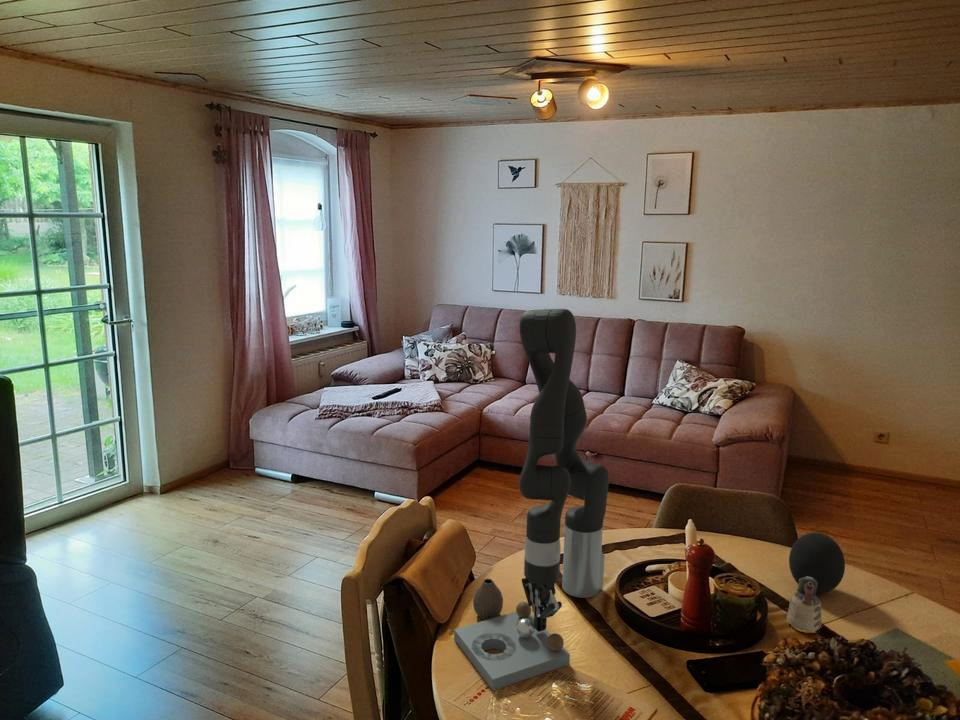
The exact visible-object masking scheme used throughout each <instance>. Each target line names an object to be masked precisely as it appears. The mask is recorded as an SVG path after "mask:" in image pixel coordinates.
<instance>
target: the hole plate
mask: <svg viewBox="0 0 960 720" xmlns="http://www.w3.org/2000/svg"><path fill="white" fill-rule="evenodd" d="M521 619H524V618H521V617H520V616H518V614H517V612H516V611H512V612H509V613H506V614H503V615H498V616H497V617H495V618H492V619H488V620H482V621H478V622H474V623H471V624H467V625H464V626H461V627H458V628H454V629H453V640H454V641H455V643H456V644H457V645H458V646H459V648H460V649H461V651H462V652H463V653H464V654H465V656H466V658H467V659H468V660H469V662H471V664H472V665H473V667H474V669H476V670H477V672H478V673H479V675H480V676H481V677H482V679H483V680H484V681H485V682H486V685H488V687H489V688H490V689H491V690H492V691H495V690H494V689H496V690H498V689H497V688H499V689H501V687H502V688H504V687H508V686H511V685H513V683H514V684H516V683H519V682H523V681H525V680H527V679H531V678H533V677H537V676H539V675H542V674H545V673H548V672H551V671H554V670H557V669H559V668H564V667H566V666H568V665H570V660H571V659H570V658H571V654H570V652H569V651H568V650H567V649H566V648H565V647H564V646H563V647H562V648H561V649H560V650H559V651H553V650H551V649H550V648H549V647H548V644H547V640H548V637H549V636H550V635H551V634H552V633H550V632H549V631H548V630H547V628H546V629H545V630H543V631H540V632H538V631H537V630H536V629H535V628H534V633H533V635H532V636H531V637H529V638H526V639H525V638H521V637H520V636H518V634H517V632H516V624H517V622H518V621H519V620H521ZM526 619H529V620H531V621H532V623H533V624H534V615H532V614H530V615H529V616H528V617H526ZM489 650H498V651H501V652H500V653H495V654H494V653H488V652H486V651H489Z"/></svg>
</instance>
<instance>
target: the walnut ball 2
mask: <svg viewBox="0 0 960 720" xmlns="http://www.w3.org/2000/svg"><path fill="white" fill-rule="evenodd" d="M550 634H551V635H550V636H549V637H548V640H547V644H548V647H549V648H550V649H551V650H553V651H559V650H560V649H561V648H562V647H564V643H565V641H564V638H563V637H562V635H561V634H559V633H556V632H555V633H550Z"/></svg>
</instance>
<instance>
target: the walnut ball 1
mask: <svg viewBox="0 0 960 720" xmlns="http://www.w3.org/2000/svg"><path fill="white" fill-rule="evenodd" d="M515 610H516V611H515V612H517V614H518V616H520V617H521V618H526V617H528V616H529V615H530V614H531V613H532V606H529V605H528V601H521V602H519V603H518V604H517V605H516V607H515ZM531 615H532V614H531Z"/></svg>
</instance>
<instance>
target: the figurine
mask: <svg viewBox="0 0 960 720" xmlns="http://www.w3.org/2000/svg"><path fill="white" fill-rule="evenodd" d="M817 586H818V583H817V581H816V580H815V579H814V578H812V577H808V576H807V577H803V578H801V579H799V584H798V583H797V589H796V592H795V593H793V594H791V597H790V601H789V604H788V609H787V613H786V622H787V621H788V623H789V624H791V625H792V626H793V627H795V628H798V629H801V630H806V631H817V630H819V629H820V628H821V629H822V623H823V622H822V608H823V606H822V603H821V600H820V598H819V597H818V596H817V594H816V590H817ZM788 623H787V624H788ZM789 624H788V625H789Z"/></svg>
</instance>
